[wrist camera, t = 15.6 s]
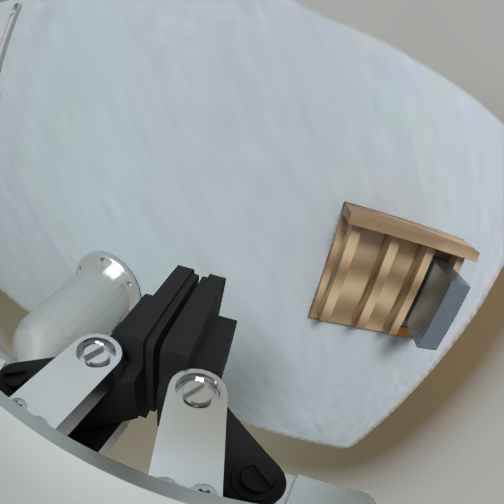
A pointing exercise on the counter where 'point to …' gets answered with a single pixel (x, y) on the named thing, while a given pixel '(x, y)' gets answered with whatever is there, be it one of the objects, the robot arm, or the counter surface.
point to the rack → (380, 269)
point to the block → (436, 304)
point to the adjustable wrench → (8, 30)
